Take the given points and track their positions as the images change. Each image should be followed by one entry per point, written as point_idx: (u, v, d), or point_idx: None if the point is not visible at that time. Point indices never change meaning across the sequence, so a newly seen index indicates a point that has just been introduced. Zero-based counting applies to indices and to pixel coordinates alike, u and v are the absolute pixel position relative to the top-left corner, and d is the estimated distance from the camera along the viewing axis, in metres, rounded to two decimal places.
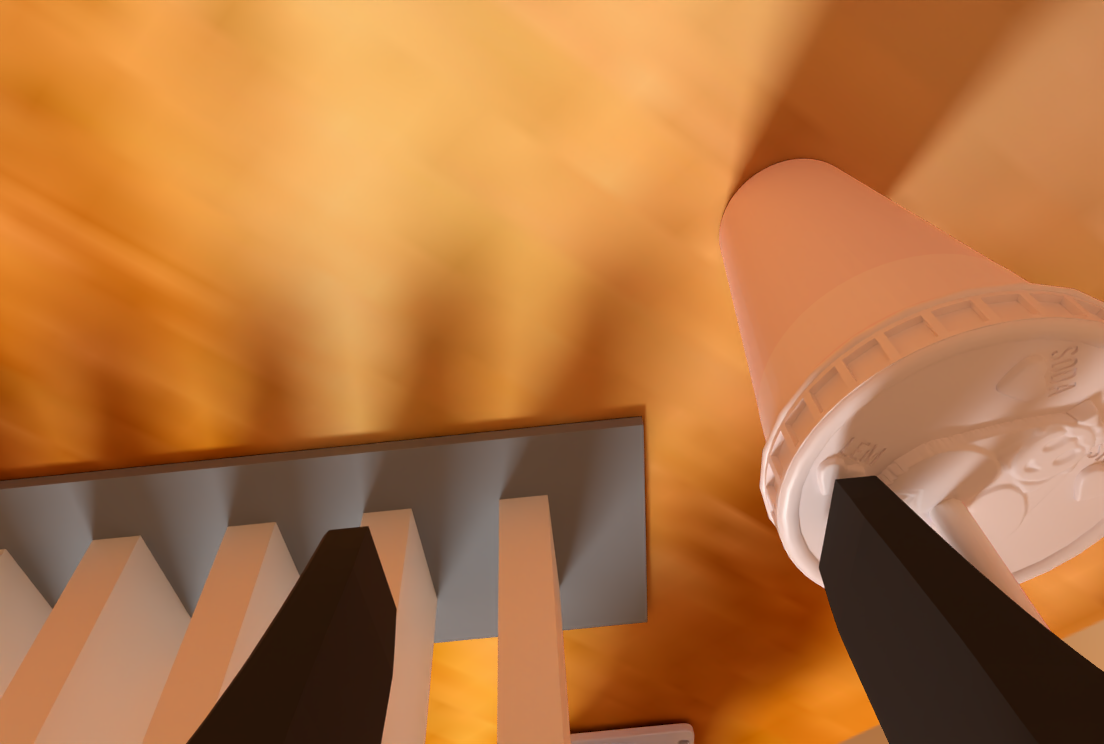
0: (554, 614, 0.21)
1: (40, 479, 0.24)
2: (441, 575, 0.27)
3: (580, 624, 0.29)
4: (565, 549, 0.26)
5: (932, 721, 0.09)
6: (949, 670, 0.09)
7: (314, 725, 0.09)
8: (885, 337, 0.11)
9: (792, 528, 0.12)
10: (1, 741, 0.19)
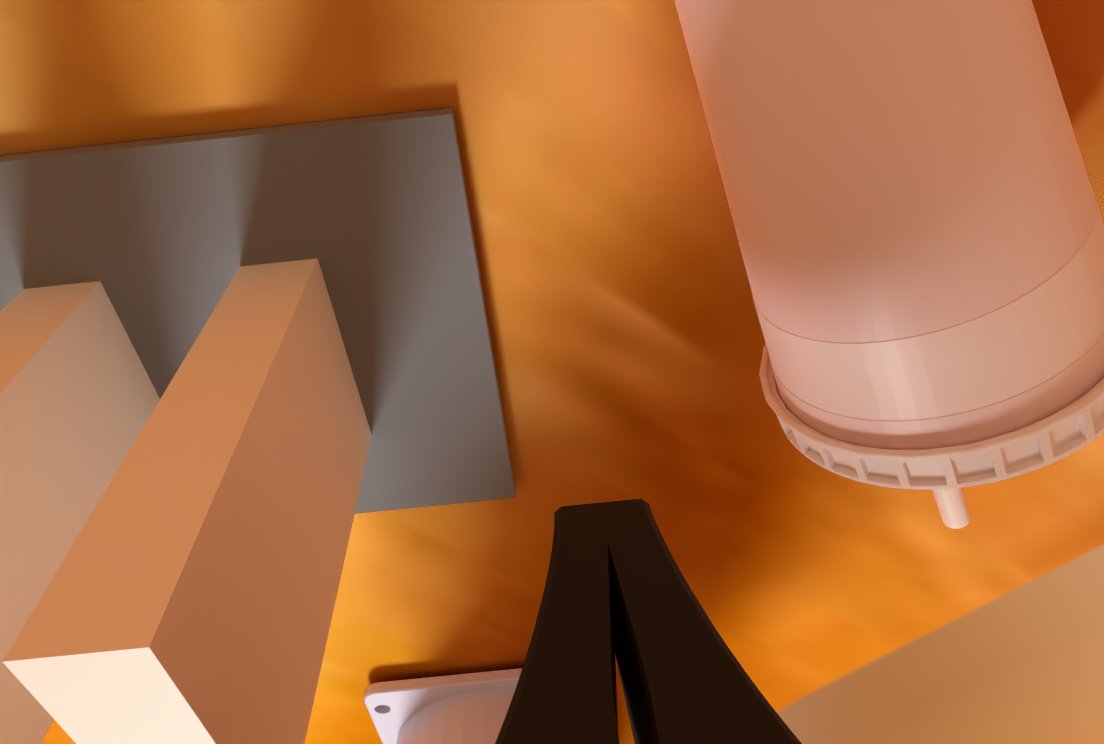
0: (256, 397, 0.12)
1: None
2: None
3: (415, 500, 0.20)
4: (367, 365, 0.17)
5: None
6: (645, 699, 0.09)
7: (612, 696, 0.09)
8: (1000, 455, 0.11)
9: None
10: None
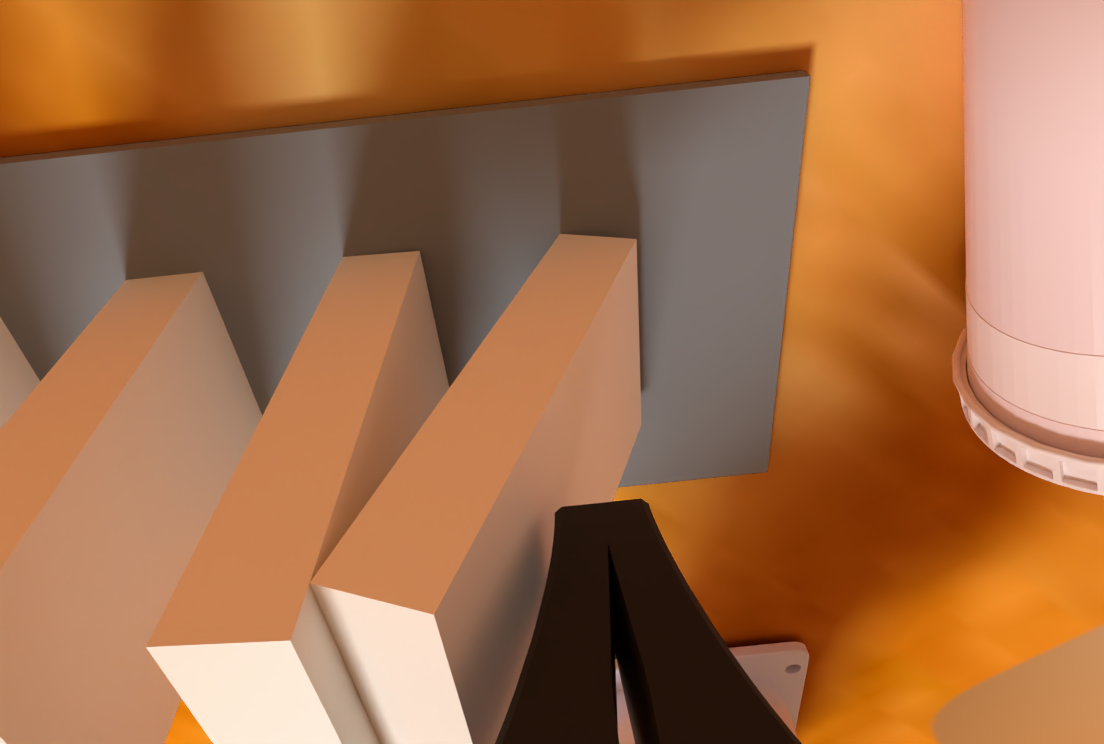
0: (561, 377, 0.11)
1: None
2: None
3: (669, 474, 0.19)
4: (658, 336, 0.17)
5: None
6: (645, 699, 0.09)
7: None
8: (1058, 464, 0.13)
9: None
10: None
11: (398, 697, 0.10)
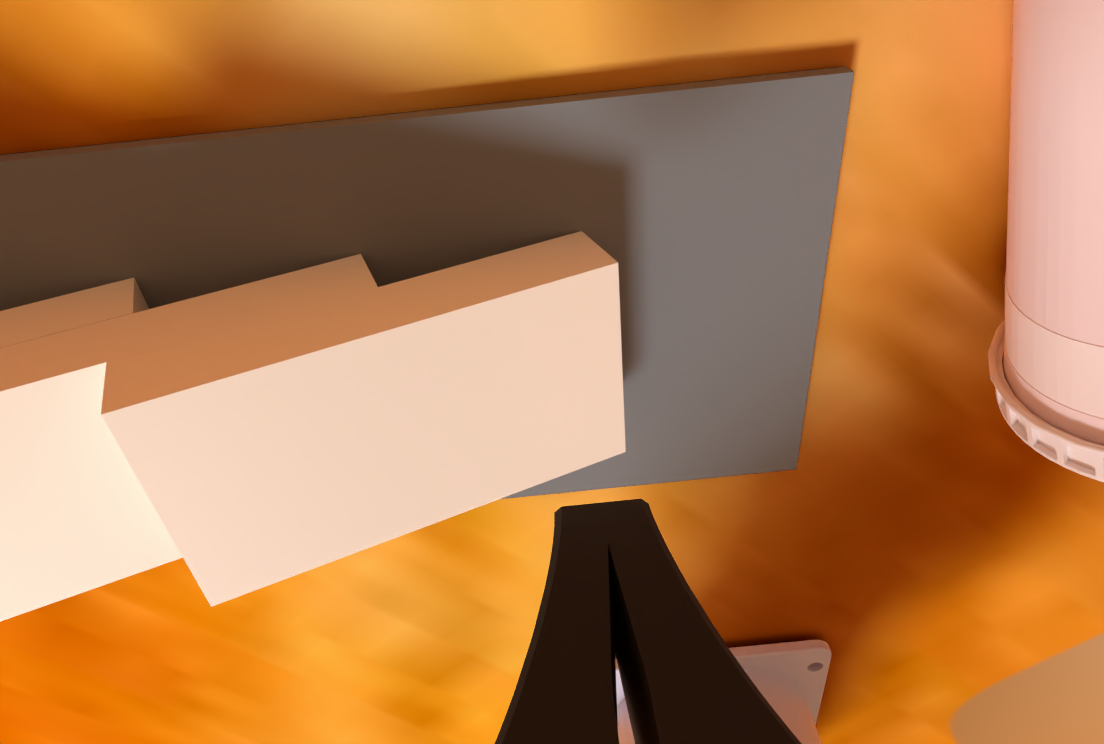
0: (378, 333, 0.13)
1: None
2: None
3: (698, 471, 0.19)
4: (693, 332, 0.17)
5: None
6: (645, 699, 0.09)
7: (612, 696, 0.09)
8: (1101, 461, 0.13)
9: None
10: None
11: None
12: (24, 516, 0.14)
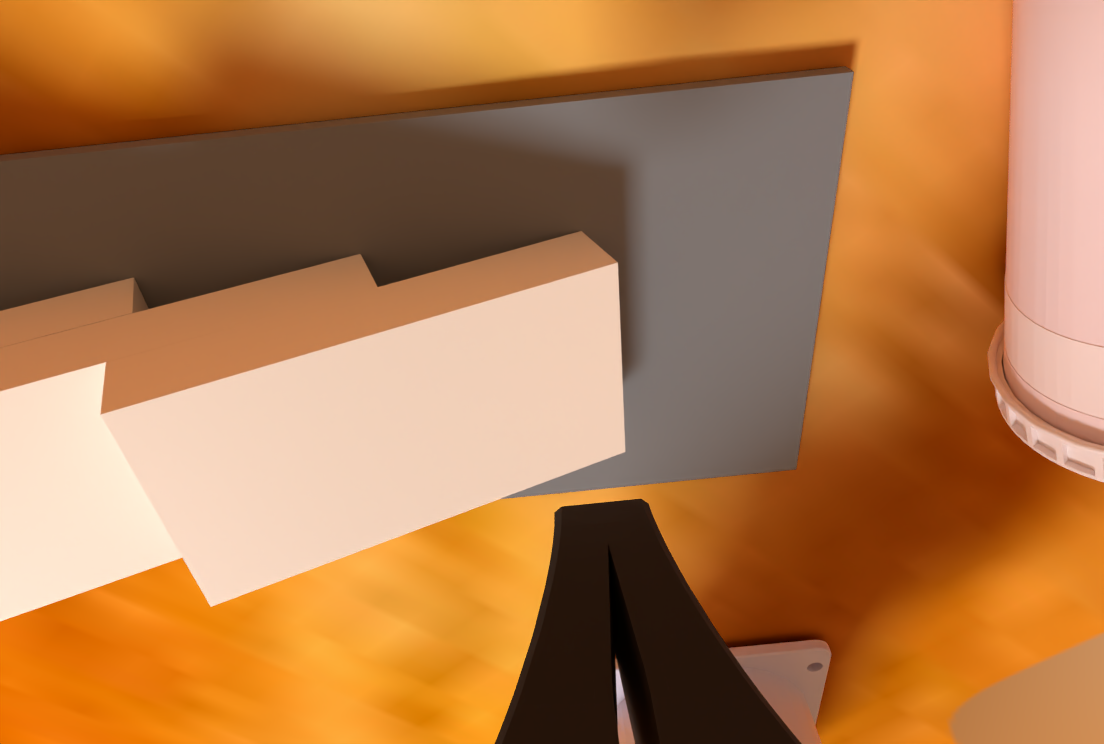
0: (377, 333, 0.13)
1: None
2: None
3: (698, 471, 0.19)
4: (693, 332, 0.17)
5: None
6: (645, 699, 0.09)
7: (612, 695, 0.09)
8: (1101, 461, 0.13)
9: None
10: None
11: None
12: (24, 516, 0.14)
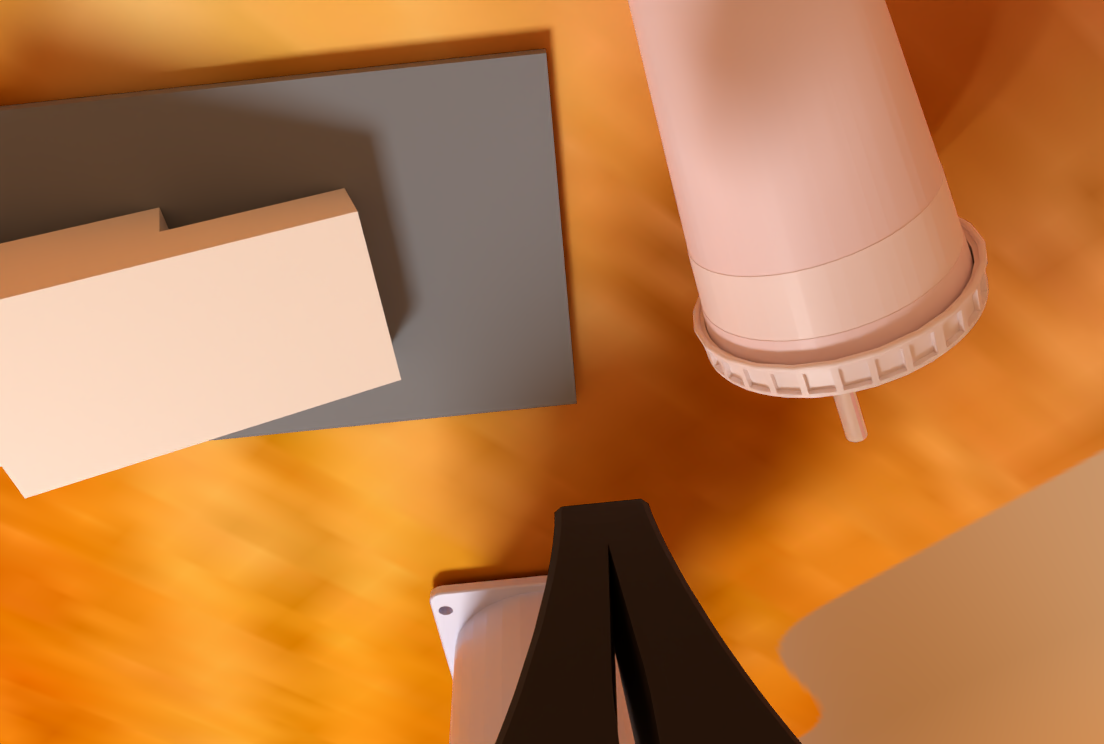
0: (141, 265, 0.16)
1: None
2: None
3: (490, 405, 0.22)
4: (458, 277, 0.20)
5: None
6: (644, 699, 0.09)
7: (612, 695, 0.09)
8: (743, 372, 0.16)
9: None
10: None
11: None
12: None
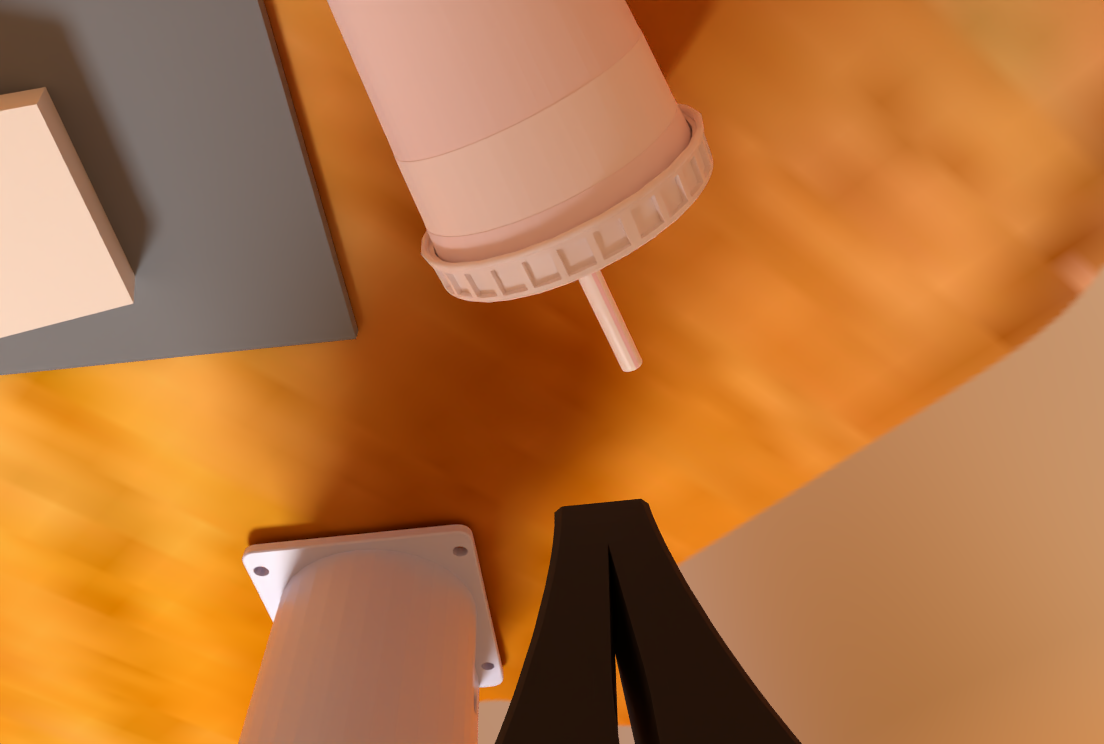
0: None
1: None
2: None
3: (261, 340, 0.21)
4: (195, 193, 0.18)
5: None
6: (645, 699, 0.09)
7: (612, 695, 0.09)
8: (446, 276, 0.15)
9: None
10: None
11: None
12: None
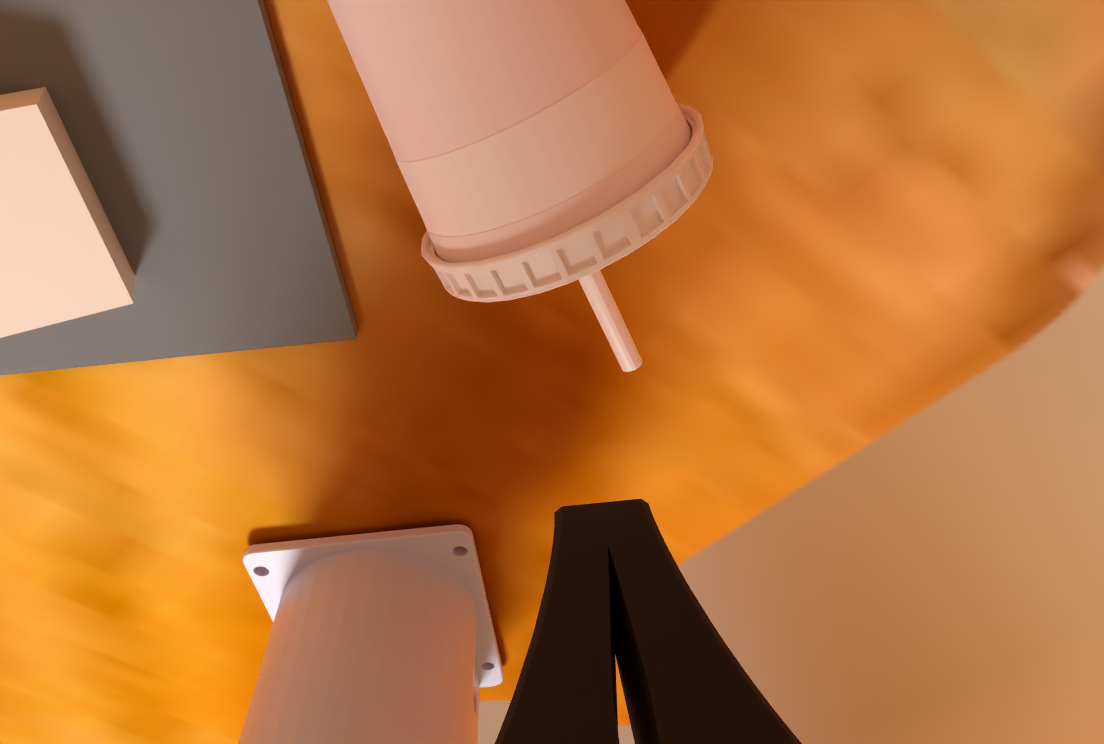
0: None
1: None
2: None
3: (261, 340, 0.21)
4: (195, 193, 0.18)
5: None
6: (645, 699, 0.09)
7: (612, 695, 0.09)
8: (446, 276, 0.15)
9: None
10: None
11: None
12: None
